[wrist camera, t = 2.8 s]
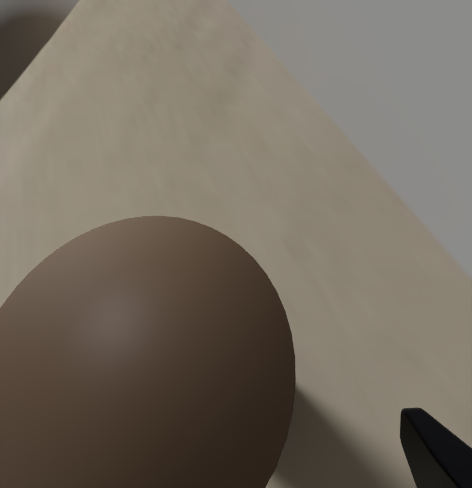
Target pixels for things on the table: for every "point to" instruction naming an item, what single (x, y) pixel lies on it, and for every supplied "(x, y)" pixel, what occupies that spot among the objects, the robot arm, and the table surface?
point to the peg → (144, 363)
